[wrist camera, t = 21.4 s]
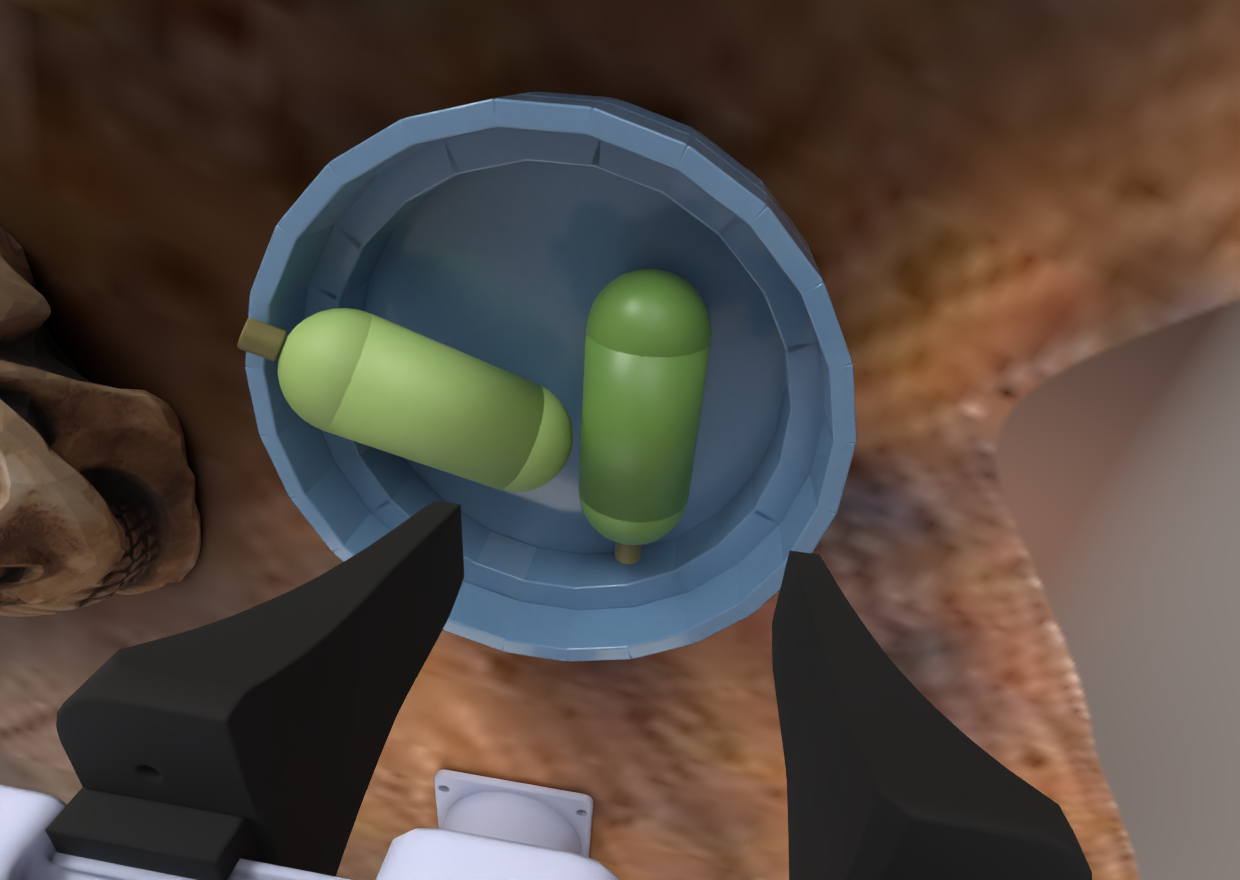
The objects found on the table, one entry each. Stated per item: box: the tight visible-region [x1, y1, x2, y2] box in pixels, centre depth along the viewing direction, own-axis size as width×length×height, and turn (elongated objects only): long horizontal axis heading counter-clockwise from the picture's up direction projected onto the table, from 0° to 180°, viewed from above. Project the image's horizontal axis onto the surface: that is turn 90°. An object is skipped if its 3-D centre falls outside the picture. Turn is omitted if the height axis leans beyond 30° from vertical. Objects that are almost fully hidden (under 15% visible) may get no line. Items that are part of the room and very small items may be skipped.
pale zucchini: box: [237, 308, 573, 492], centre depth 21 cm, size 10×4×4 cm, turn 57°
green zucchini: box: [578, 269, 712, 565], centre depth 22 cm, size 10×4×4 cm, turn 175°
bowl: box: [245, 92, 857, 662], centre depth 22 cm, size 17×17×4 cm
